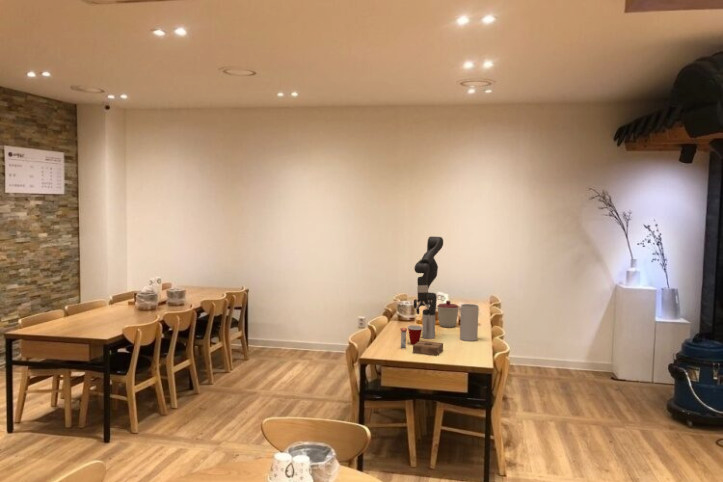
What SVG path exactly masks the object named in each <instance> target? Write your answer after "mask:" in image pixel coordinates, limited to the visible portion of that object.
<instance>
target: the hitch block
mask: <svg viewBox="0 0 723 482" xmlns="http://www.w3.org/2000/svg"><path fill="white" fill-rule="evenodd" d="M443 351H444V343H443V342H437V341H428V340H419V342H417V343H416V344H412V353H413V354H418V355H419V354H420V355H428V356H435V357H438V356H439V354H441V353H442V352H443Z"/></svg>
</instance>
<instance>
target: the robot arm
mask: <svg viewBox="0 0 723 482" xmlns="http://www.w3.org/2000/svg"><path fill="white" fill-rule="evenodd" d="M443 246H444V238H443V237H442V236H429V237H428V238H427V245H426V252H425V253H424V254H423V256H422V258H420V259H419V261H417V263H415V265H414V269H413V270H414V272H415V273H416V274H422V275H421V276H418V277H417V287H416V288H417V299H413V308H414V309H416V311H415V312H416V314H417V315H420V307H425V309H423V311H422V327H423V329H422V331H421V334H422V335H421V337H422V338H423V339H426V340H427V339H429V340H430V339H431V340H432V339H435V337H436V312H437V299H438V298H437V294H436V293H435V292H429V288H430V287H431V284H432V283H433V282H434V281H435V280H436V278H437V276H438V269H439V266H438V263H437V261H436V259H435V256H437V254H438V253H439V252H440V251H441V249H442V248H443Z"/></svg>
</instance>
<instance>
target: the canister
mask: <svg viewBox="0 0 723 482" xmlns="http://www.w3.org/2000/svg"><path fill="white" fill-rule="evenodd" d="M436 308H437V316H438V317H437V318H438V324H439V326H440V327H442V328H455V327H456V326H457V322H458V317H459V315H458V314H459V309H460V306H459V305H457V304H455V303H451V301H450V300H446V302H445V303H443V302H442V303H439V304H438V305H437V304H436Z"/></svg>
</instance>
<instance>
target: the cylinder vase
mask: <svg viewBox="0 0 723 482" xmlns="http://www.w3.org/2000/svg"><path fill="white" fill-rule="evenodd" d="M459 323H460V324H459V325H460V326H459V327H460V328H459V339H460V340H461V341H465V342H475V341H478V331H479V305H478V304H471V303H463V304H461V305H460V322H459Z"/></svg>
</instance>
